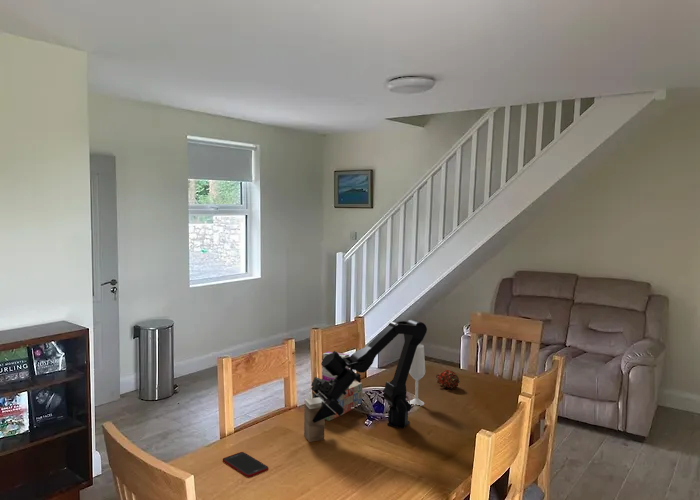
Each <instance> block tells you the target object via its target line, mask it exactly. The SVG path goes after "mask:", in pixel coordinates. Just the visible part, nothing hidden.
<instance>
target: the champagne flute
mask: <svg viewBox="0 0 700 500" xmlns="http://www.w3.org/2000/svg"><path fill="white" fill-rule="evenodd" d="M425 359H426V357H425V346H424V344H421V343H420V344H419V345H418V346H417V348H416V352H415V355H414V358H413V361H412V364H411V368H410V371H409V375H410V377H411V378H412V379H413V380H414V381H415V383H414V387H415V389H414V398H413V399H411V400H409V401H410V404H414V405H415V404H417V405H420V406H419V407H422V406H424V405H425V402H424V401H422V400H421V399H419V381H420V380H421V379H422V378H424V376H425V374H426V362H425Z"/></svg>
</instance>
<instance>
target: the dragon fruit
mask: <svg viewBox="0 0 700 500" xmlns="http://www.w3.org/2000/svg"><path fill="white" fill-rule="evenodd" d="M435 377H436V378H437V379H436V383H437V384H439V385H440V384H441V386H442V388H444V389H446V388H448V389H451V390H453V388H457V387H458V386H459V383H460V382H461V381H460V378H459V376H458V375H457V374H456V372H455V371H454V370H450V369H445V370H444V371H443V372H440V373H437V374H436V376H435Z"/></svg>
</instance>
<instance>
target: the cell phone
mask: <svg viewBox="0 0 700 500" xmlns="http://www.w3.org/2000/svg"><path fill="white" fill-rule="evenodd" d="M222 462H223V463H224V462H225V463H224V464H226V465H227V464H228V466H229V467H231V468H232V469H234V470H235V469H236V471H237V470H238V471H239V472H238V471H237V472H238V473H240V474H241V475H242V476H244V475H245V476H244V477H246V478H251V477H253V476H257V475H259V474H262V473H263V472H267V471H268V470H269V466H268V465H266V464H265V463H263V462H261V460H258V459H256V458H254V457H253V456H251V455H249V454H248V453H247V452H244V451H241V452H236V453H234V454H231V455H229V456H225V457H223V458H222Z"/></svg>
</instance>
